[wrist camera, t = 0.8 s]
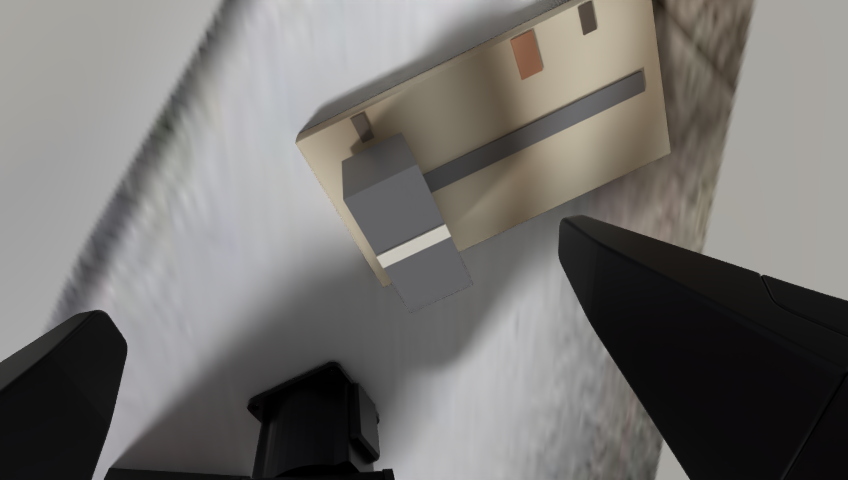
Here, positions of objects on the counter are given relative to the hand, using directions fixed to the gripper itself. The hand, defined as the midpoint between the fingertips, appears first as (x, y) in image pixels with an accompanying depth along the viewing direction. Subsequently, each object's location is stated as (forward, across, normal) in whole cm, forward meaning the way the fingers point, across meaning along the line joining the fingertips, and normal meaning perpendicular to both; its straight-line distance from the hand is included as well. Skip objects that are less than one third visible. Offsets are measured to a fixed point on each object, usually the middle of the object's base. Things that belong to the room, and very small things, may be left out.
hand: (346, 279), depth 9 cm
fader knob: (+12, -2, +4) cm, 13 cm away
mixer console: (+14, -7, +3) cm, 16 cm away
